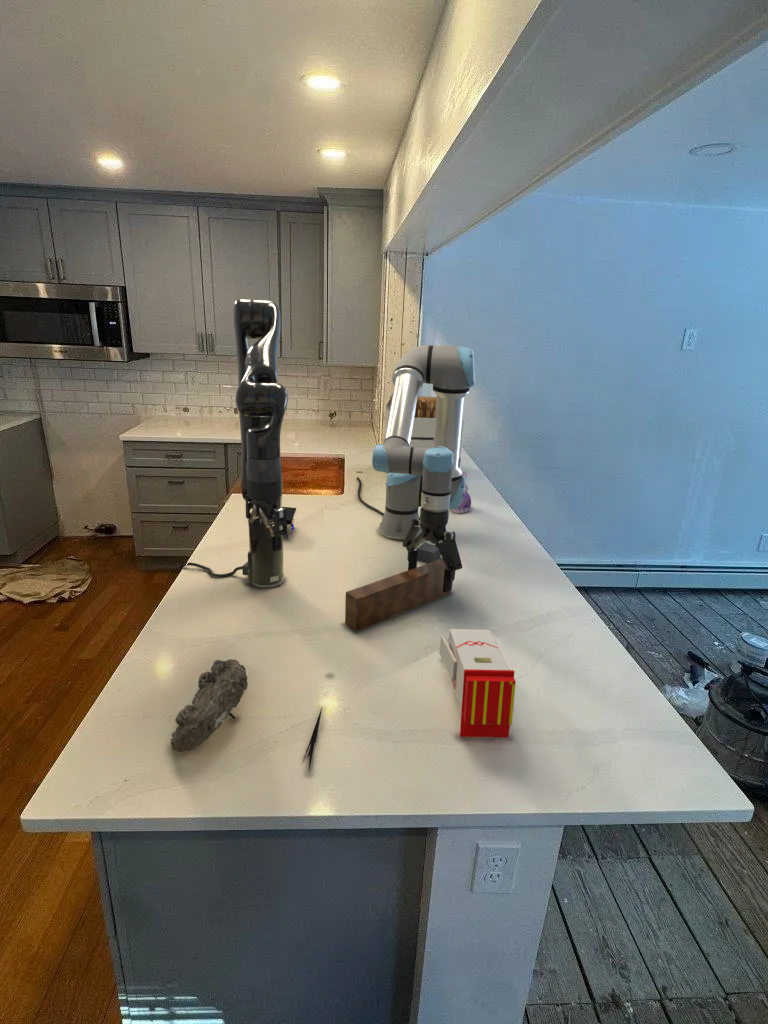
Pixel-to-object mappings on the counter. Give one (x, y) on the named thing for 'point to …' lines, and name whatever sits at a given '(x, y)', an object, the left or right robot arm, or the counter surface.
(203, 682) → the fossil
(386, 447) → the right robot arm
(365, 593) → the walnut bar
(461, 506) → the figurine
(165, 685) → the counter surface
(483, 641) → the toy
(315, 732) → the feather
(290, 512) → the figurine character
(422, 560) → the grey block
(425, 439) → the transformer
